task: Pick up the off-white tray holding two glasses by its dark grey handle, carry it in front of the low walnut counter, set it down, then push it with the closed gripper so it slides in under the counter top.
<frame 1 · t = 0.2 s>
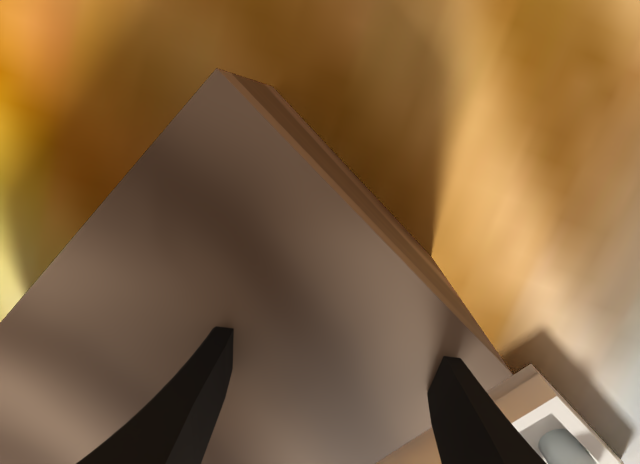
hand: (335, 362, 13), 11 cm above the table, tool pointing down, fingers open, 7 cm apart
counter: (225, 300, 24), on the table
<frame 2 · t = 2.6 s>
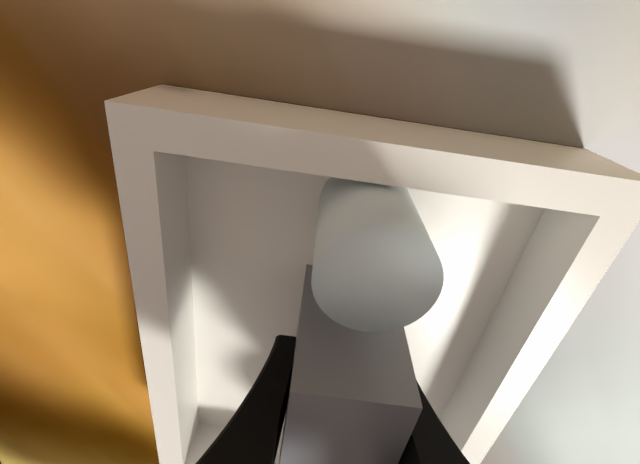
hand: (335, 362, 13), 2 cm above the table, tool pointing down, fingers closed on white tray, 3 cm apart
white tray: (335, 315, 15), on the table, touching gripper
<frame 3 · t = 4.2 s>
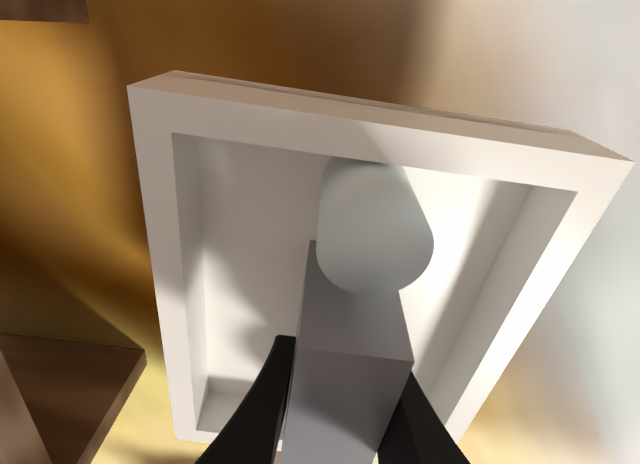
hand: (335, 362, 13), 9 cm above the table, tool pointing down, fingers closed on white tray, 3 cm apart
white tray: (336, 288, 16), point 6 cm above the table, touching gripper
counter: (3, 211, 21), on the table
when the fingers open (3 cm above the table, at t = 5.9 s): white tray stays where it is, on the table.
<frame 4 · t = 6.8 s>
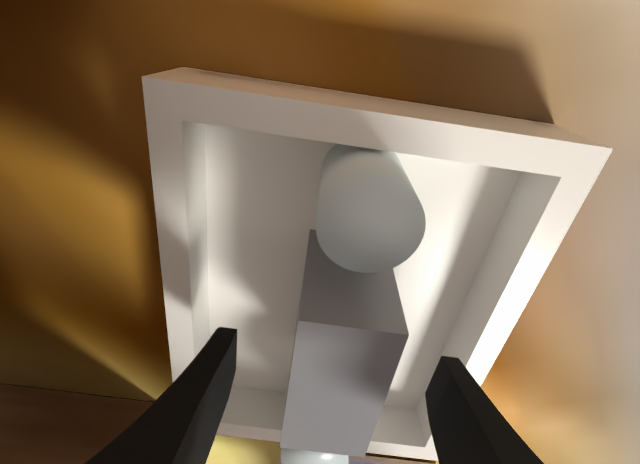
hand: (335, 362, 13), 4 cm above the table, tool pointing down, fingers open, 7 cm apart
white tray: (335, 280, 16), on the table
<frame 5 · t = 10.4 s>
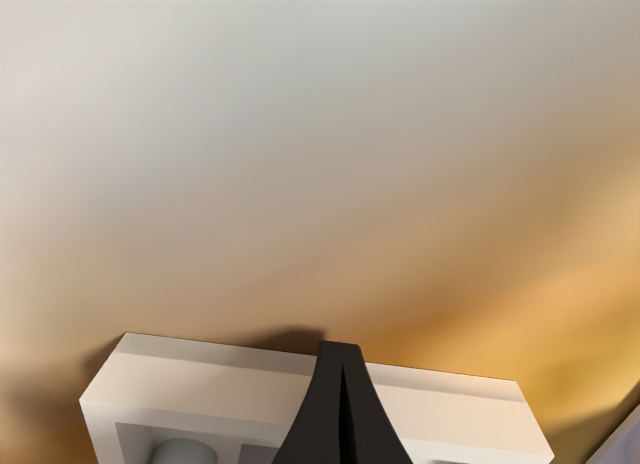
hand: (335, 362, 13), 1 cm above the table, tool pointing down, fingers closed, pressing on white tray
white tray: (306, 447, 18), on the table, touching gripper
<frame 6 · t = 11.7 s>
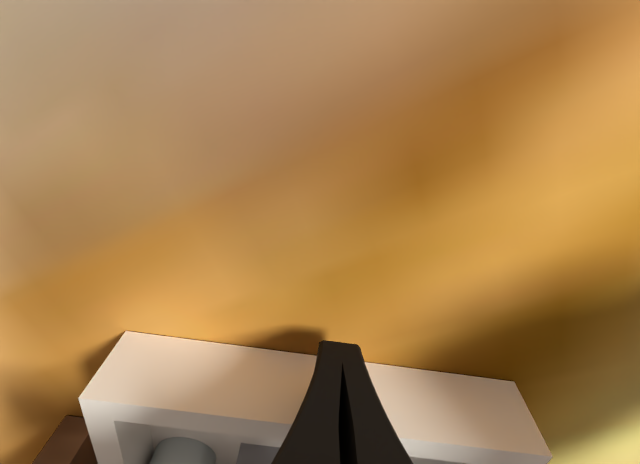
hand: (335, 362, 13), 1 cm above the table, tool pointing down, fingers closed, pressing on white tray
white tray: (304, 447, 18), on the table, touching gripper
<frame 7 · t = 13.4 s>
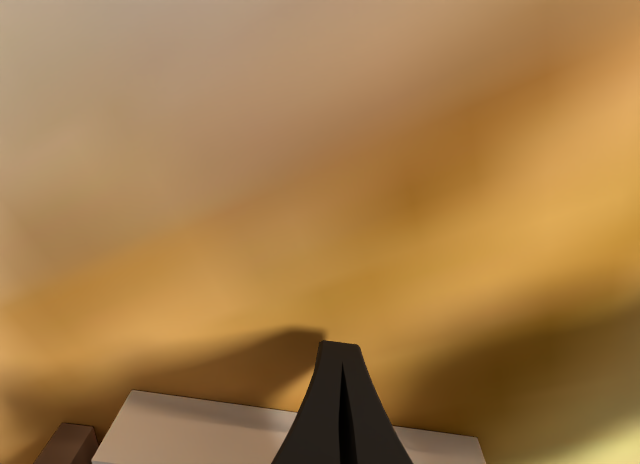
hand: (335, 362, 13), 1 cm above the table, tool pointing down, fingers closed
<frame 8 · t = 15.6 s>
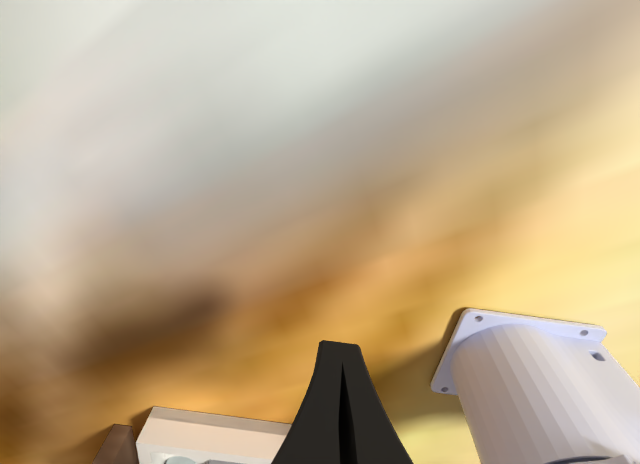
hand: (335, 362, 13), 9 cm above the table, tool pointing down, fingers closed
white tray: (245, 461, 33), on the table
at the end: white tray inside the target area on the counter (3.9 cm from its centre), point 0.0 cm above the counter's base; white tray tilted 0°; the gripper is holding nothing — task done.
